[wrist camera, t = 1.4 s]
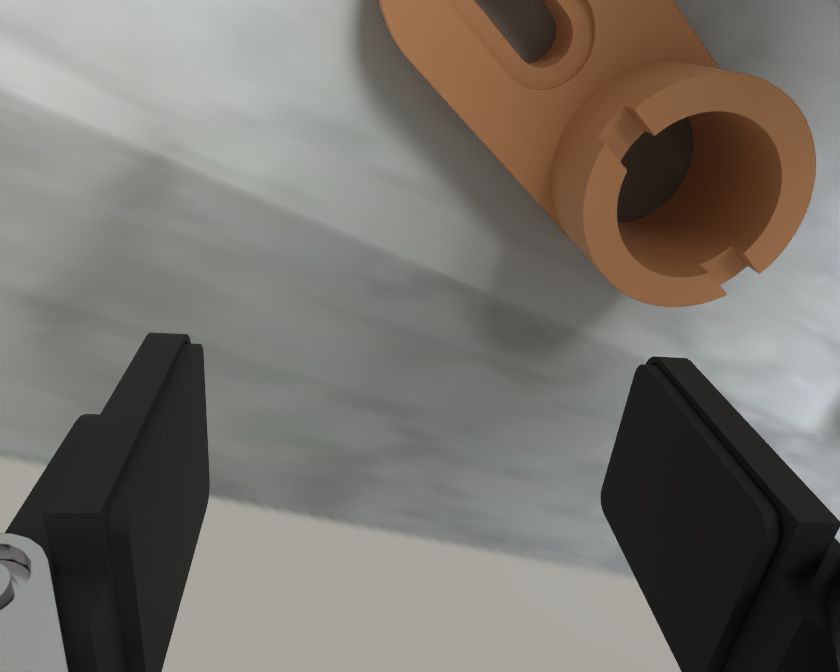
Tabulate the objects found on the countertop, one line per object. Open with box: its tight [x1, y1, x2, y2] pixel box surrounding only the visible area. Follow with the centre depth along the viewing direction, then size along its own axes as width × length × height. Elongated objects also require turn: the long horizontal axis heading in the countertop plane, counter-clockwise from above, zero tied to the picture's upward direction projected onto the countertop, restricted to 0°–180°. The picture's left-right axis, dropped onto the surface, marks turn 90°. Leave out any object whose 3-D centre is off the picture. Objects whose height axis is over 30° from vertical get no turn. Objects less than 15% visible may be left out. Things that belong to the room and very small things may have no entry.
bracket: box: [378, 0, 816, 307], centre depth 25 cm, size 18×8×7 cm, turn 44°
